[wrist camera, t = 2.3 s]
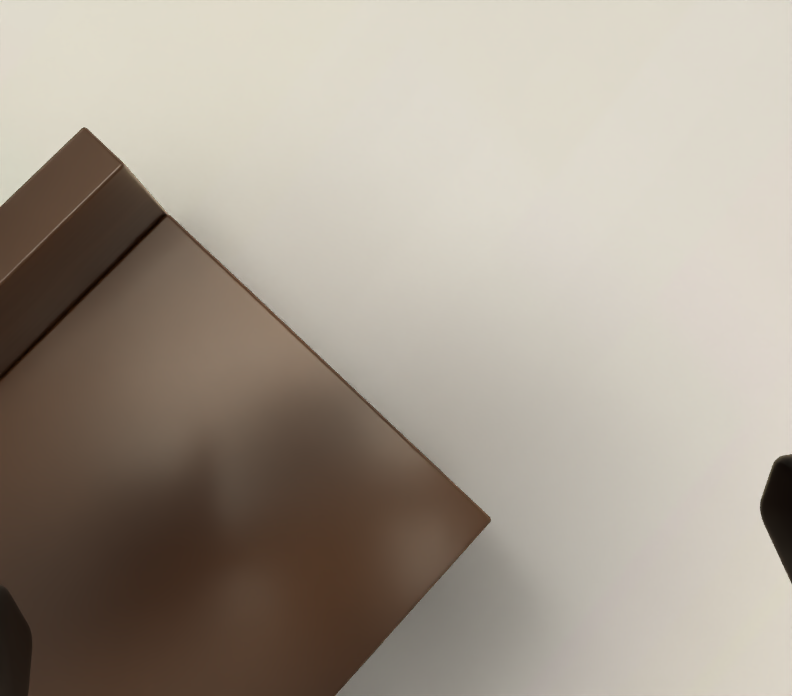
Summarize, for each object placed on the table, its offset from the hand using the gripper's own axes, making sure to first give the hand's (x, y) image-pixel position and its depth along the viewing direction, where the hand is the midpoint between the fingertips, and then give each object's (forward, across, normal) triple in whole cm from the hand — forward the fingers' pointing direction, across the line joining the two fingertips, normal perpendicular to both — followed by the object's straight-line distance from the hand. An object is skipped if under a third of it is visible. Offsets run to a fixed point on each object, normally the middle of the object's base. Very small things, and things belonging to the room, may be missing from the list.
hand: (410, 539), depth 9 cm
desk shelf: (+10, +6, +10) cm, 16 cm away
